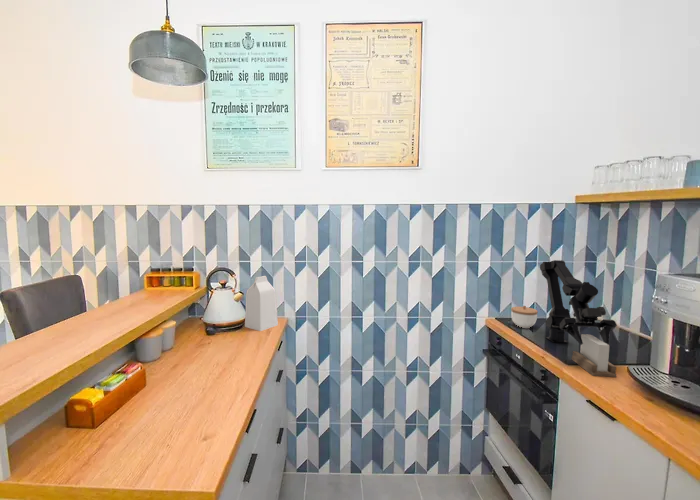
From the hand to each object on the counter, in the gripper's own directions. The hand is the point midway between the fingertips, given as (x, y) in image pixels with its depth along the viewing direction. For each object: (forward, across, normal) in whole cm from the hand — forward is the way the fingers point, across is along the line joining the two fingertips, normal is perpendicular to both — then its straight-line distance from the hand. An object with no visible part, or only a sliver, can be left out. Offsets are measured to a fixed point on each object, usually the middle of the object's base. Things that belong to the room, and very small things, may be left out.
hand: (594, 344), depth 132 cm
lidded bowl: (-30, -7, +43) cm, 53 cm away
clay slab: (+5, 0, +6) cm, 8 cm away
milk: (-14, -144, +28) cm, 148 cm away
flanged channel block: (+6, 0, +7) cm, 9 cm away
